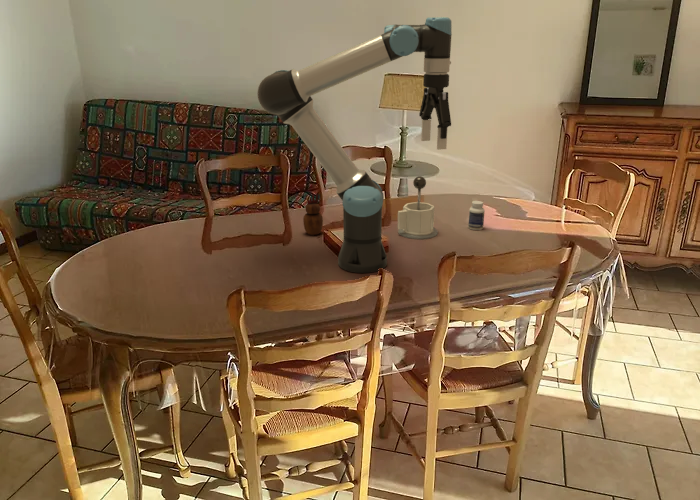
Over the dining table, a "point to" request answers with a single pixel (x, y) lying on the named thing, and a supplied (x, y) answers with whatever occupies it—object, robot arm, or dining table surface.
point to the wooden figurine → (313, 217)
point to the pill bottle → (476, 216)
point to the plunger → (419, 188)
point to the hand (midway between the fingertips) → (433, 144)
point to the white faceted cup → (417, 221)
